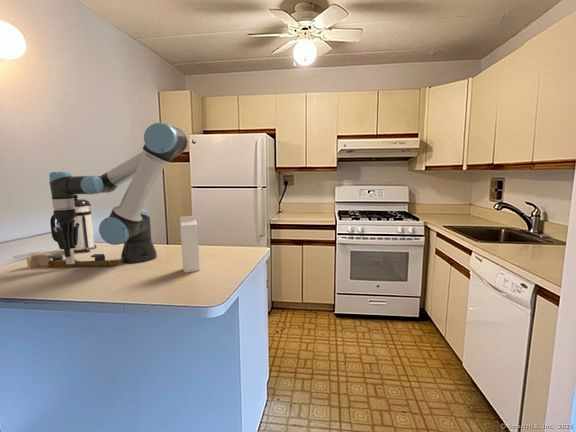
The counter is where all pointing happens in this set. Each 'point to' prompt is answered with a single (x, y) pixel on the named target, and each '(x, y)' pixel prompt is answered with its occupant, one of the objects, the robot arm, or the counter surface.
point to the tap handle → (82, 263)
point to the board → (44, 258)
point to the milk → (189, 243)
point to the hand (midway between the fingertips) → (70, 263)
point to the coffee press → (81, 224)
